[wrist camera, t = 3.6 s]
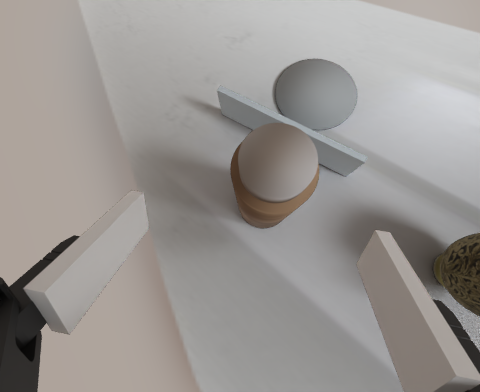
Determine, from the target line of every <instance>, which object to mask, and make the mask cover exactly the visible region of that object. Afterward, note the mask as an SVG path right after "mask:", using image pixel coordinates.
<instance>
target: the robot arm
mask: <svg viewBox="0 0 480 392" xmlns="http://www.w3.org/2000/svg"><path fill="white" fill-rule="evenodd" d="M148 229H149V223H148V217H147V210H146V204H145V198H144V192H140V191H133V190H131V191H130V192H129V193H128V194H126V195H125V196H124V197H123V198H122V199H121V200H120V201H119V202H118V203H117V204H115V205H114V206H113V207H112V208H111V209H110V210H109V211H108V212H107V213H105V215H103V216H102V217H101V218H100V219H99V220H98V221H97V222H96V223H94V224H93V225H92V226H91V227H90V228H89V229H88V230H87V231H86V232H85V233H83V234H82V235H81V236H72V237H70V238H68V239H66V240H65V241H63V242H61V243H60V244H59V245H58V246H56V247H55V248H54V249H53V250H52V251H51V253H48V254H47V255H46V256H45V257H44V258H43V260H40V261H39V262H38V263H37V264H35V265H34V266H33V267H32V268H31V269H30V270H28V271H27V272H26V273H25V274H24V275H23V276H22V277H20V278H19V279H18V280H17V281H16V282H15V283H13V284H12V285H11V286H10V287H8V285H7V284H6V283H5V281H4V280H3V279H2V278H1V277H0V392H37V388H38V377H39V364H40V352H41V340H42V335H41V331H40V330H41V329H42V328H43V327H44V325H45V324H46V323H47V324H48V326H49V327H50V329H51V330H52V331H55V332H60V333H64V334H70V333H71V332H72V331H73V329H74V328H75V327H76V325H77V324H78V323H79V321H80V320H81V319H82V317H83V316H84V315H85V313H86V312H87V311H88V309H89V308H90V307H91V305H92V304H93V303H94V301H95V300H96V299H97V297H98V296H99V295H100V293H101V292H102V291H103V289H104V288H105V287H106V285H107V284H108V283H109V281H110V280H111V279H112V277H113V276H114V275H115V273H116V272H117V271H118V269H119V268H120V267H121V265H122V264H123V263H124V261H125V260H126V259H127V257H128V256H129V255H130V253H131V252H132V251H133V249H134V248H135V247H136V245H137V244H138V243H139V241H140V240H141V239H142V237H143V236H144V235H145V233H146V232H147V231H148ZM356 265H357V268H358V270H359V273H360V276H361V278H362V281H363V284H364V286H365V289H366V292H367V294H368V297H369V300H370V302H371V305H372V308H373V310H374V313H375V316H376V318H377V321H378V324H379V326H380V329H381V332H382V334H383V337H384V340H385V342H386V345H387V348H388V350H389V353H390V356H391V358H392V361H393V364H394V366H395V369H396V372H397V374H398V377H399V380H400V382H401V385H402V388H403V390H404V392H480V352H479V350H478V349H477V347H476V346H475V344H474V343H473V341H471V340H470V339H471V338H470V337H469V335H468V334H467V333H466V331H465V330H463V327H462V325H461V324H460V322H459V321H458V319H457V318H456V316H455V315H454V313H452V312H451V311H450V310H449V309H448V308H447V307H446V306H445V305H444V304H443V303H442V302H441V301H438V300H432V298H431V297H430V295H429V293H428V292H427V290H426V289H425V287H424V286H423V284H422V282H421V281H420V279H419V278H418V276H417V274H416V273H415V271H414V270H413V268H412V267H411V265H410V263H409V262H408V260H407V259H406V257H405V255H404V254H403V252H402V251H401V249H400V248H399V246H398V244H397V243H396V241H395V240H394V238H393V237H392V235H391V233H390V232H385V231H379V230H375V231H374V233H373V235H372V237H371V238H370V240H369V242H368V244H367V246H366V247H365V249H364V251H363V253H362V255H361V257H360V258H359V260H358V262H357V264H356Z"/></svg>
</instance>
